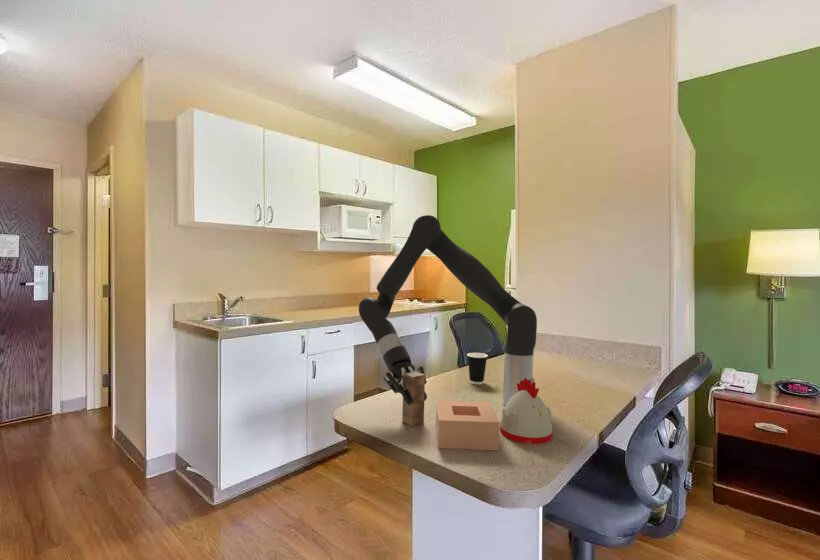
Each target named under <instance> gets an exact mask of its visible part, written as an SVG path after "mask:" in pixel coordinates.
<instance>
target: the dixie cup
mask: <svg viewBox="0 0 820 560" xmlns="http://www.w3.org/2000/svg"><path fill="white" fill-rule="evenodd" d="M466 356H467V363H468V375H469V377H468V378H469V381H470V382H469V383H470V384H473V385H477V384H478V385H482V384H484V381H485V374H486V369H487V368H486V366H487V360H488V356H489V355H488V354H486V353H482V352H469V353H467V354H466Z"/></svg>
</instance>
